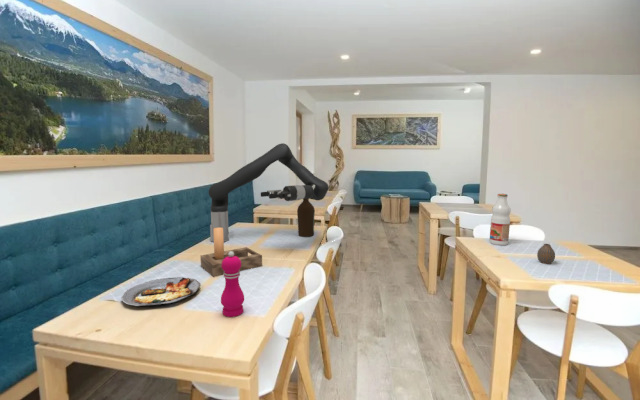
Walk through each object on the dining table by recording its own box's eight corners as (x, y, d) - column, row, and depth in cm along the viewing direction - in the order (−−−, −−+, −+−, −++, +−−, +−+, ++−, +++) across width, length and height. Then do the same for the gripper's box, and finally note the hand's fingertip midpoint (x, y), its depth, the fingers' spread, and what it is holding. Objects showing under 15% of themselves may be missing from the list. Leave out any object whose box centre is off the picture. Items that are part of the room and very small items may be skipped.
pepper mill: (223, 307, 110) (221, 248, 108) (246, 306, 111) (244, 248, 108) (219, 318, 103) (216, 255, 100) (243, 317, 104) (241, 254, 101)
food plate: (204, 279, 134) (203, 271, 134) (195, 306, 112) (194, 296, 111) (135, 286, 129) (134, 277, 128) (112, 315, 107) (111, 305, 106)
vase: (552, 261, 159) (554, 243, 157) (555, 265, 152) (557, 247, 151) (535, 259, 162) (537, 241, 160) (537, 263, 155) (539, 245, 154)
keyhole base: (246, 257, 163) (246, 247, 162) (262, 266, 151) (261, 255, 150) (200, 266, 150) (200, 255, 149) (213, 276, 137) (213, 265, 137)
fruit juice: (510, 246, 184) (514, 195, 180) (491, 245, 187) (495, 194, 183) (505, 241, 193) (509, 193, 189) (487, 240, 196) (491, 192, 192)
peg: (207, 271, 143) (205, 230, 141) (214, 265, 151) (212, 226, 149) (225, 272, 143) (224, 230, 140) (231, 265, 151) (230, 226, 148)
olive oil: (300, 237, 200) (300, 196, 197) (295, 233, 210) (295, 194, 207) (317, 236, 204) (317, 195, 201) (311, 232, 214) (311, 193, 211)
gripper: (286, 184, 174) (258, 186, 165) (301, 186, 163) (272, 188, 153) (286, 198, 175) (258, 201, 166) (301, 202, 164) (272, 205, 154)
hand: (265, 195), depth 160 cm, fingers open, 8 cm apart
